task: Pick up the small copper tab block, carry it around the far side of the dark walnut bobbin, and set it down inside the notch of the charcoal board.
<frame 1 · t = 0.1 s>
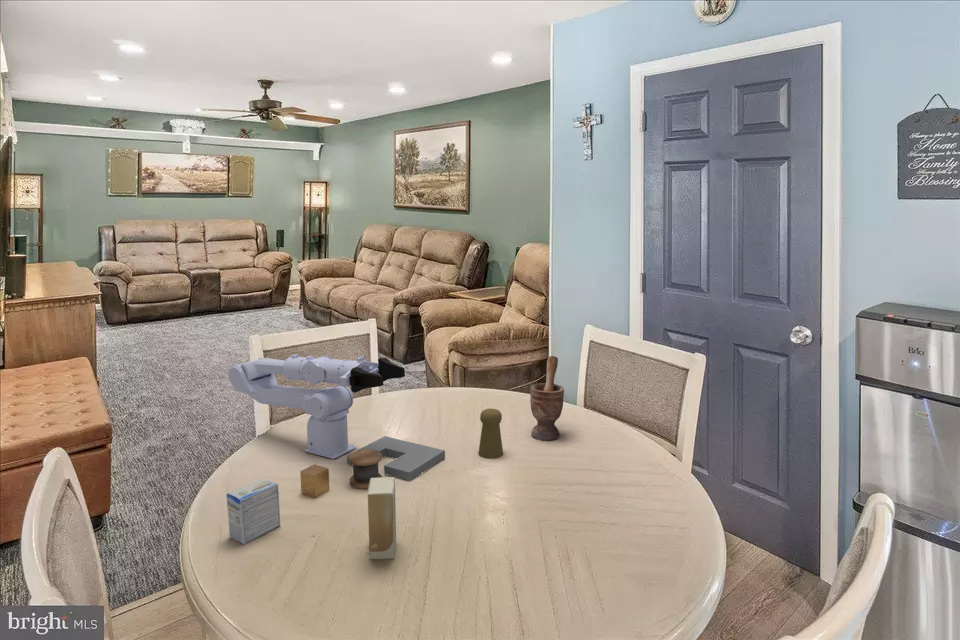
hand: (393, 376, 133), 22 cm above the table, tool horizontal, fingers open, 7 cm apart
medicine box: (255, 533, 110), on the table
skincare box: (383, 551, 104), on the table
tab block: (315, 492, 125), on the table
bobbin: (366, 481, 130), on the table
olive pawn: (490, 454, 146), on the table
mortar and pestle: (545, 433, 159), on the table
notched board: (396, 460, 141), on the table
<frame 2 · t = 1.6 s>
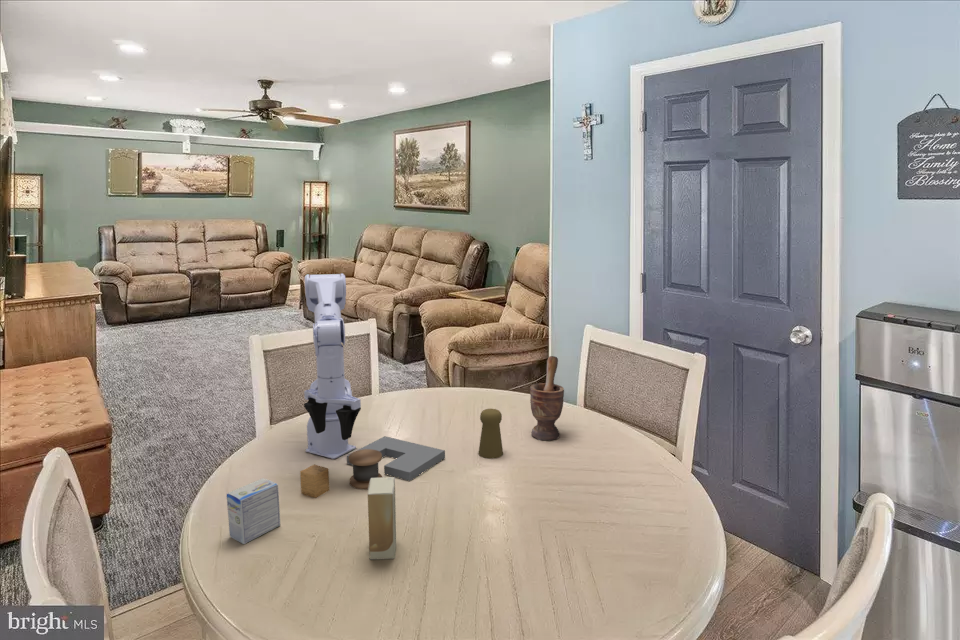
hand: (333, 435, 132), 9 cm above the table, tool pointing down, fingers open, 7 cm apart
nothing on the table moved.
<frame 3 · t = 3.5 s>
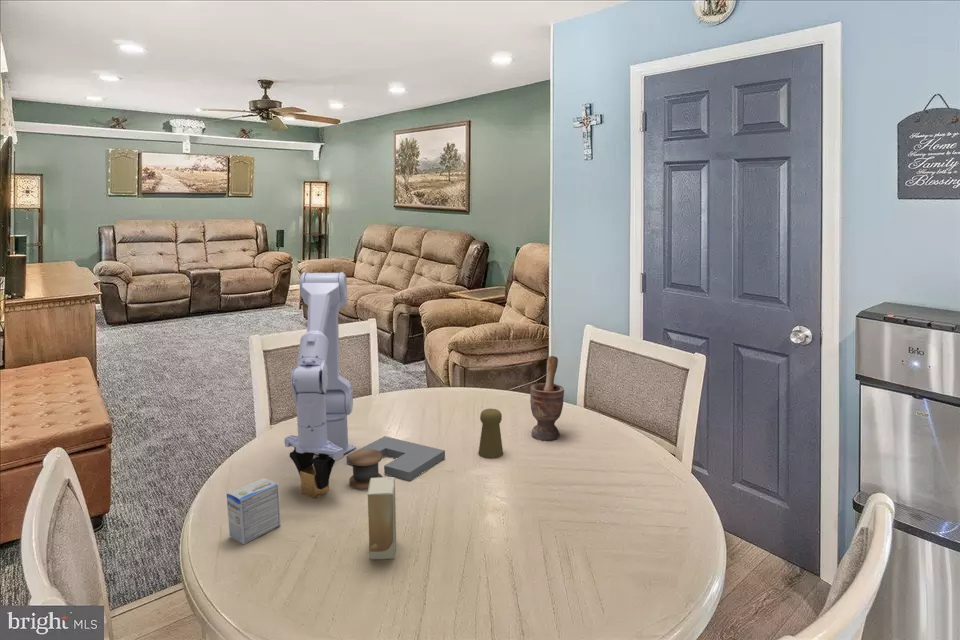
hand: (315, 484, 125), 2 cm above the table, tool pointing down, fingers closed on tab block, 4 cm apart
tab block: (315, 492, 125), on the table, touching gripper
everything else where it was.
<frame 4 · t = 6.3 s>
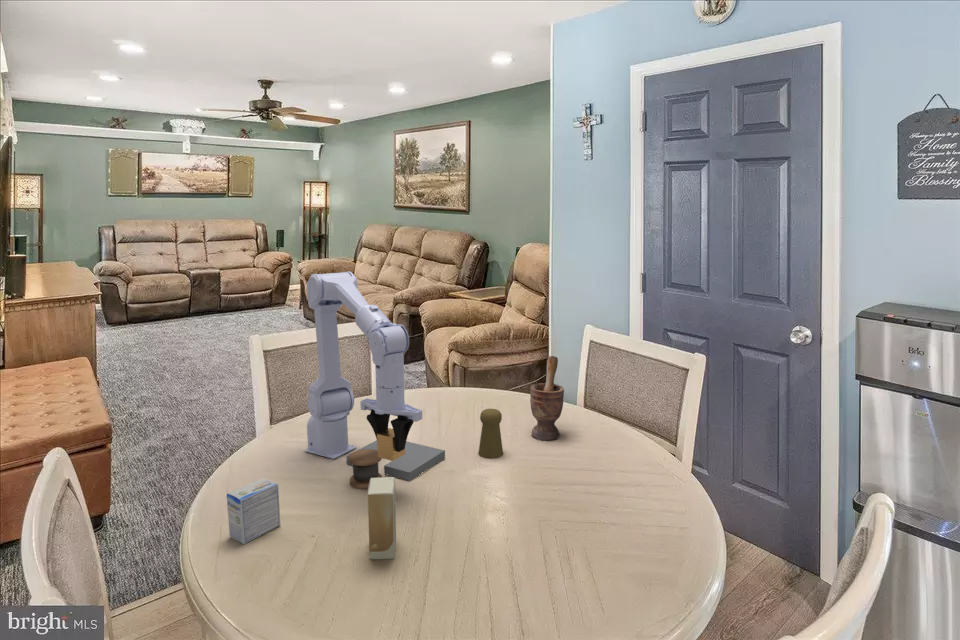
hand: (391, 447, 125), 9 cm above the table, tool pointing down, fingers closed on tab block, 4 cm apart
tab block: (391, 455, 125), point 8 cm above the table, touching gripper
everything else where it was.
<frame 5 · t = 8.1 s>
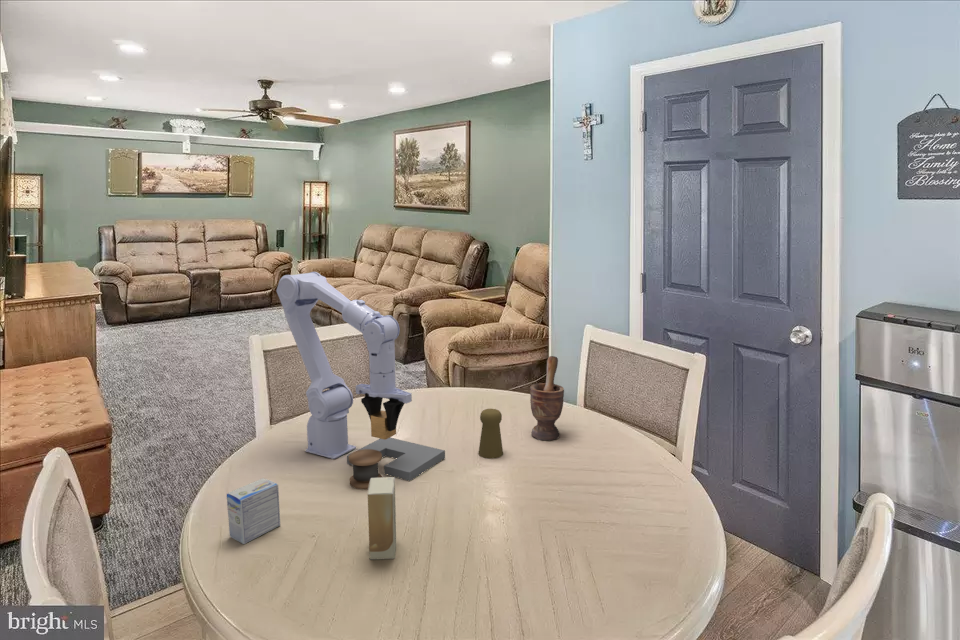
hand: (384, 428, 137), 9 cm above the table, tool pointing down, fingers closed on tab block, 4 cm apart
tab block: (383, 435, 137), point 7 cm above the table, touching gripper
everything else where it was.
when the fingers open (3 cm above the table, at t = 9.4 s): tab block drops 2 cm, resting in notched board.
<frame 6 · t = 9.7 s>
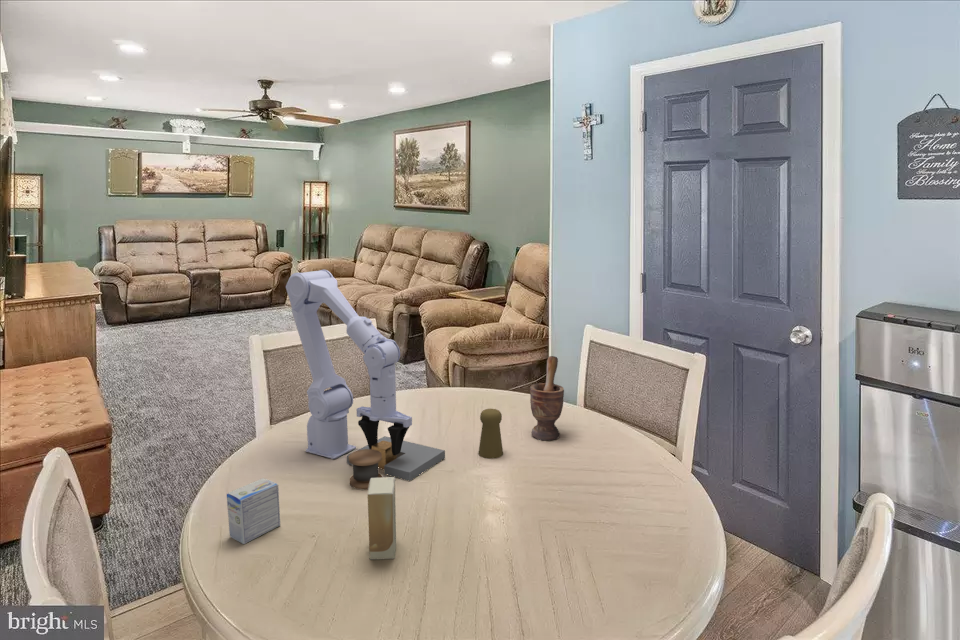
hand: (384, 450, 138), 3 cm above the table, tool pointing down, fingers open, 6 cm apart
tab block: (384, 465, 139), resting in notched board
everything else where it was.
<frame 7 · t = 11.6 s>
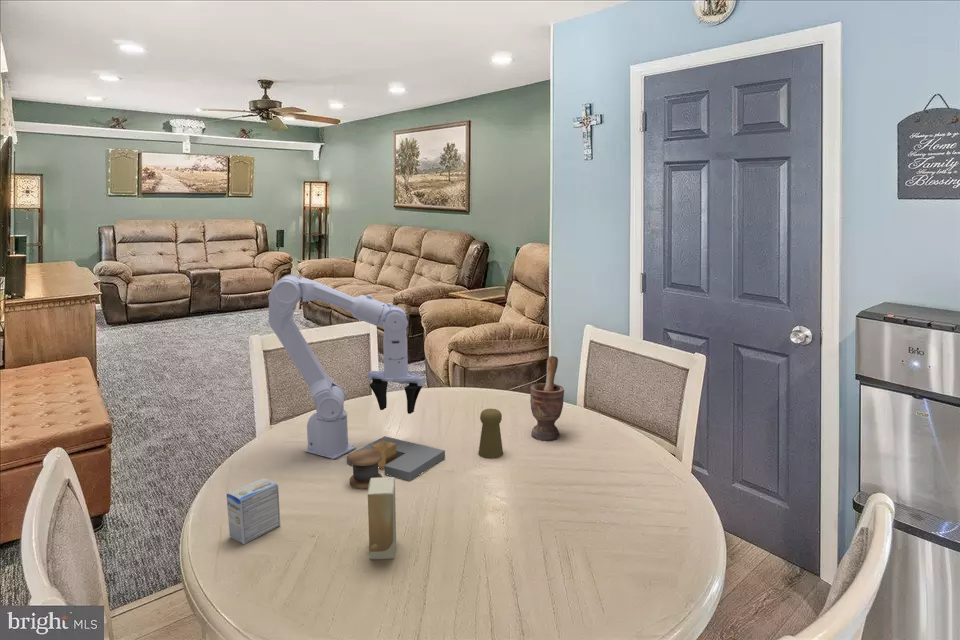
hand: (396, 410, 148), 9 cm above the table, tool pointing down, fingers open, 7 cm apart
nothing on the table moved.
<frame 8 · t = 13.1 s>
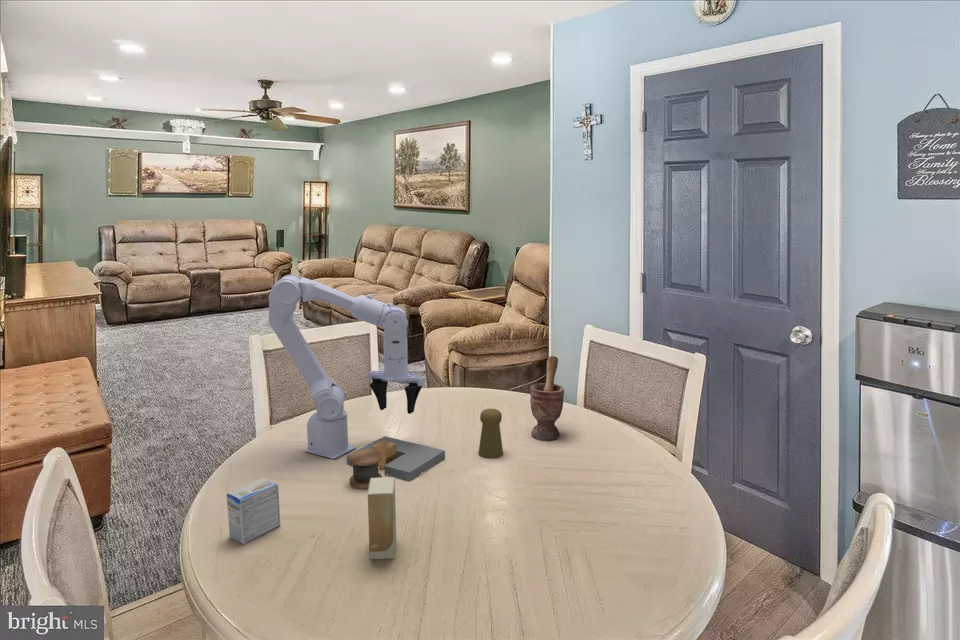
hand: (396, 410, 148), 9 cm above the table, tool pointing down, fingers open, 7 cm apart
nothing on the table moved.
at the end: tab block 0.2 cm from the target spot, resting in notched board; tab block tilted 0°; the gripper is holding nothing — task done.
